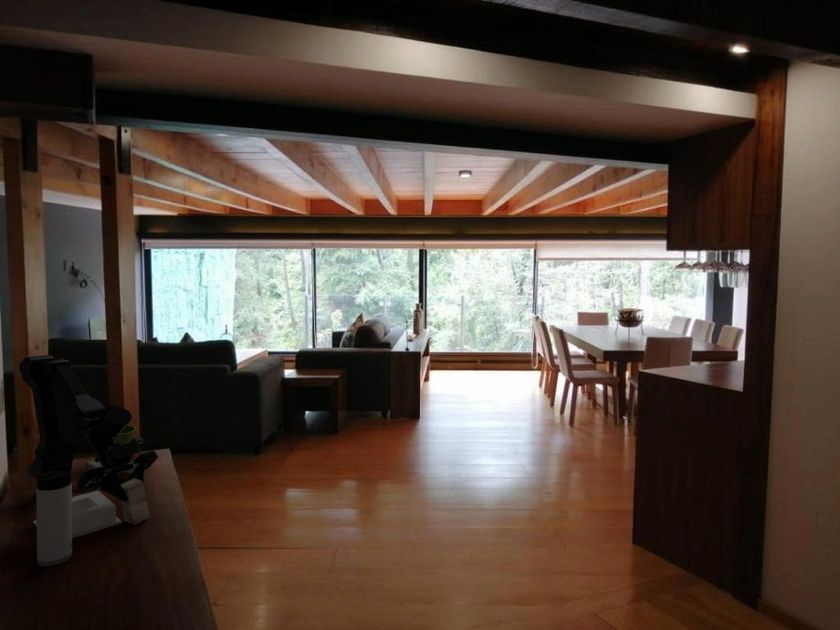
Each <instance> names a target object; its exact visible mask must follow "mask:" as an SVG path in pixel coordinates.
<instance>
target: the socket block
mask: <svg viewBox="0 0 840 630" xmlns="http://www.w3.org/2000/svg"><path fill="white" fill-rule="evenodd" d="M122 523H123V521H122V520H121V519H120V518H119V517H117V505H116V504H114V503H113V502H112V501H111V500H110V499H109V498H108V497H106V496H105V495H104V494H103V493H101V491H100V490H95V491H92V492H88V493H84V494H80V495H75V496H72V539H74V538H79V537H81V536H84V535H88V534H91V533H94V532H98V531H101V530H104V529H107V528H111V527H114V526H117V525H118V526H119V525H121V524H122ZM33 524H34V526H35V527H36V528H37V519H36V520H33Z"/></svg>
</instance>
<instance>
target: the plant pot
mask: <svg viewBox="0 0 840 630" xmlns="http://www.w3.org/2000/svg"><path fill="white" fill-rule="evenodd" d="M136 430H137V426H135V425H131V424H128V425H127V426H126V427H125V429H124V430H123V431H122V432H121V433H120V434H119V435H118V436H116V438H117V440H118V442H119V443H120V442H123V443H124V444H127V443H130V442H131V439H134V435H135V431H136Z"/></svg>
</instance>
